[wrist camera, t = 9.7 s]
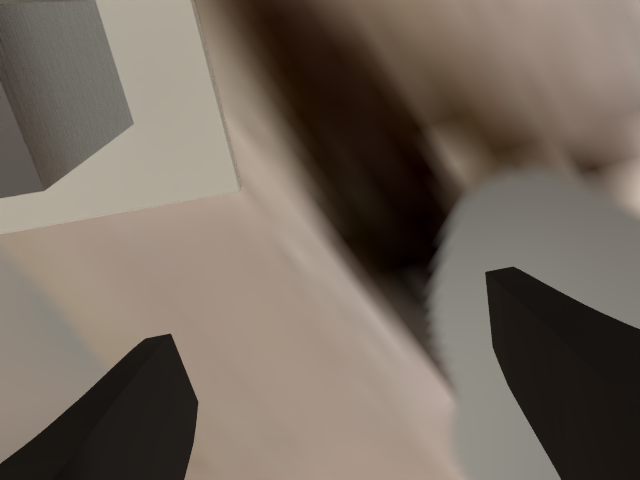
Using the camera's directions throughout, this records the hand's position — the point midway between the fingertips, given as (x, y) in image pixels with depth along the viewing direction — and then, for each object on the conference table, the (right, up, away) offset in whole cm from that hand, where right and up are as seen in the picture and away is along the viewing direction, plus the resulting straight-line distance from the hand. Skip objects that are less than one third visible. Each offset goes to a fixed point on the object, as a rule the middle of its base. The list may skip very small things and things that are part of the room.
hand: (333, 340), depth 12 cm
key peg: (-9, +8, +6) cm, 13 cm away
